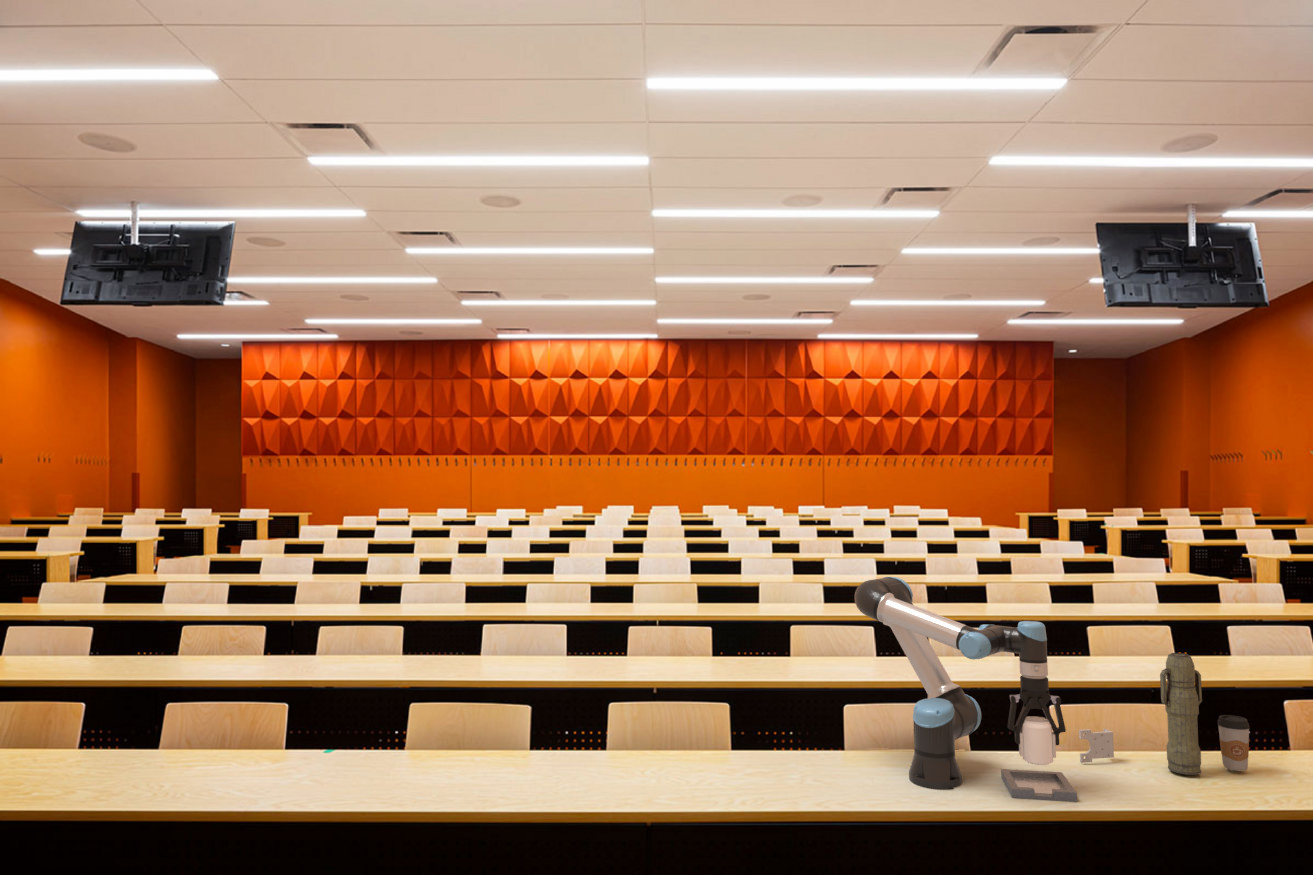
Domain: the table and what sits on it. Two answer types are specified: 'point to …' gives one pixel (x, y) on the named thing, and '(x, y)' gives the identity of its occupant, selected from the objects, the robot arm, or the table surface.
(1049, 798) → the chassis pocket
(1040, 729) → the beverage can
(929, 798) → the table surface
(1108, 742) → the bracket
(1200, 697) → the thermos
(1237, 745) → the coffee cup
